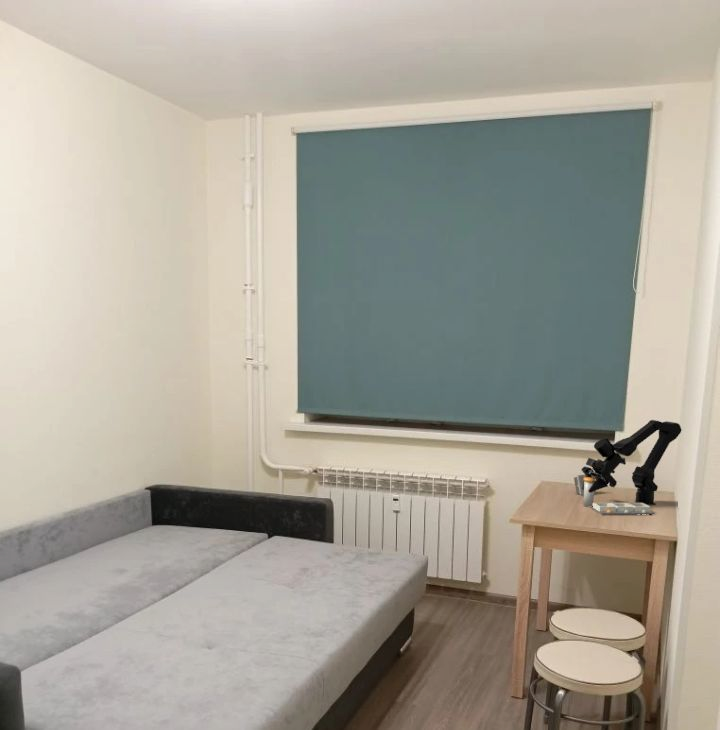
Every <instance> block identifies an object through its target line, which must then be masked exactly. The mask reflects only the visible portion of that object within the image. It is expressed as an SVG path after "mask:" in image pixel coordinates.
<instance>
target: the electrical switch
mask: <svg viewBox="0 0 720 730" xmlns="http://www.w3.org/2000/svg"><path fill="white" fill-rule="evenodd" d="M584 477H586V475H585V474H577V475H576V476H575V477H573V481H574V486H575V492H576V495H579V496H581V495H582V496H584V490H583V489H582V487H583V485H584ZM596 494H597V490H596V491H594V495H596Z"/></svg>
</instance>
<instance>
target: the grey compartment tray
mask: <svg viewBox="0 0 720 730" xmlns="http://www.w3.org/2000/svg"><path fill="white" fill-rule="evenodd" d="M651 508H652V507H651V506H650V505H646V504H644V503H637V502H593V507H591V510H593V511H594V510H595V512H596V513H598V514H599V513H600V514H599V515H601V516H638V515H637V514H640V515H639V516H643V515H642V514H646V515H645V516H648V515H647V514H654V515H655V513H654V512H652V511H651V510H652V509H651Z"/></svg>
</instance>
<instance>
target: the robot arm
mask: <svg viewBox="0 0 720 730" xmlns="http://www.w3.org/2000/svg"><path fill="white" fill-rule="evenodd" d="M682 430H683V429H682V428H681V425H680V424H679V423H678V422H673V421H667V420H666V421H663V422H662V421H660V420H655V419H651V420H649V421H648V423H646V424H645V425H644V426H642V427H641V428H640V429H638V430H637V431H635V432H634V433H633V434H632V435H630V436H629V437H625V438H622V439H621V440H618V441H616V442H615V443H611V442H610V441H611V440H609V438H607V437H604V438H601V439H599V440H597V441H596V442H595V443H594V445H593V447H594V449H595V451H596V452H597V453H598V454H599V455H600V456H601V457H602V458H604V459H600V458H598V459H594V458H591V457H588V458H587V460H586V462H585V465H586V466H583V467H582V468H581V472H582V473H583V475H586V477H592V478H595V482H594V483H593V485H592V486H591V487H590V489H589V490H588V491H589V492H590V493H591V492H593V491H596V492H597V491H598V490H602V489H603V488H608V487H611V488H615V487H616V486H617V485H618V484H617V482H618V481H617V480H616V479H615V478H614V477H613V476H612V474H615V473H616V471H615V470H616V468H617V467H619V465H626V464H627V463H626V458H625V457H622V456H626V457H630V456H631V455H633V453H634V452H635V451H636V450H637V448H638V446H639V445H640V444H641V443H642V442H644V441H645V440H647V439H648V438H649V437H651V436H652V435H653V434H654V433H656V432H658V438H657V440H656V442H655V444H654V445H653V447H652V449H651V450H650V452H649V454H648V455H647V458H646V460H645V461H644V463H643V465H641V466H638V465H637V466H635V468H634V471H633V472H632V476H631V480H632V483H633V485H634V487H635V488H637V489H636V492H635V499H634V503H644V504H646V505H648V506H650V505H657V503H656V502H655V492H657V490H658V488H659V486H658V485H657V484H656V483H655V481H654V480H655V470H656V468H657V466H658V464H659V463H660V462H661V460H662V458H663V456H664V454H665V452H666V450H667V449H668V447H669V445H670V443H672V442H673V441H675V440H676V439H677V438H678V437H679V436H680V434H681V433H682ZM621 455H622V456H621ZM591 467H592V468H591ZM582 489H583V490H584V485H583V487H582Z"/></svg>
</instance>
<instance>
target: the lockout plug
mask: <svg viewBox="0 0 720 730" xmlns="http://www.w3.org/2000/svg"><path fill="white" fill-rule="evenodd" d="M595 481H596V479H595V478H592V477H584V495H583V507H586V506H590V507H589V508H592V507H591V506H593V503H594V495H595V494H594V491H593V492H591V493H590V492H589V491H588V490H589V489H590V487H591V486H592V485H593V483H594V482H595Z"/></svg>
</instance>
